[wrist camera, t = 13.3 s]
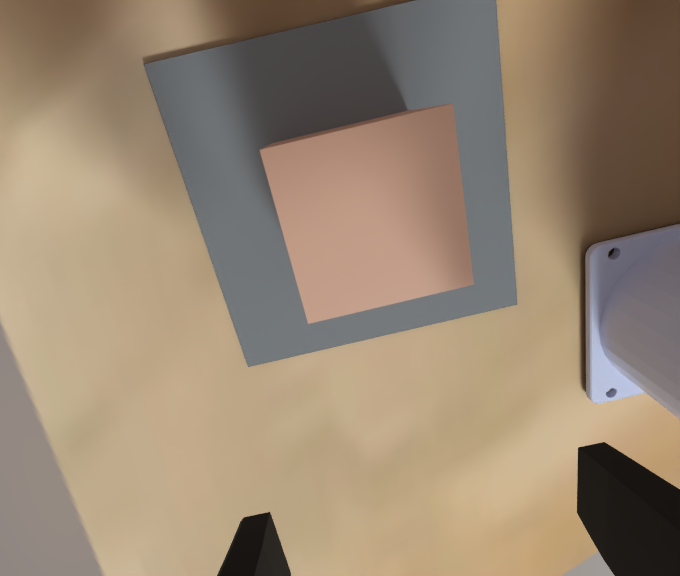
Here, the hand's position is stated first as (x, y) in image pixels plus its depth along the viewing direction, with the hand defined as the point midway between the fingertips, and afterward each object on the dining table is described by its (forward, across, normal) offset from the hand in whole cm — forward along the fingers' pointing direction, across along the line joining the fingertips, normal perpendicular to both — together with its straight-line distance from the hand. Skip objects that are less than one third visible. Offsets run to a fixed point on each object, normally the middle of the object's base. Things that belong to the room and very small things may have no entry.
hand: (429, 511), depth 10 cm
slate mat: (+9, 0, -6) cm, 11 cm away
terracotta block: (+9, 0, -6) cm, 11 cm away
